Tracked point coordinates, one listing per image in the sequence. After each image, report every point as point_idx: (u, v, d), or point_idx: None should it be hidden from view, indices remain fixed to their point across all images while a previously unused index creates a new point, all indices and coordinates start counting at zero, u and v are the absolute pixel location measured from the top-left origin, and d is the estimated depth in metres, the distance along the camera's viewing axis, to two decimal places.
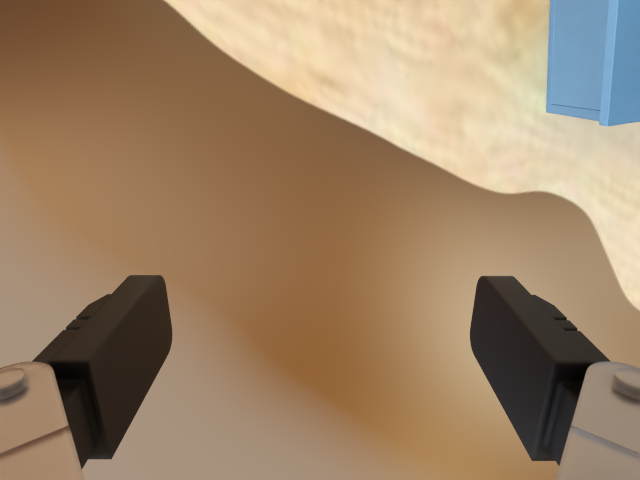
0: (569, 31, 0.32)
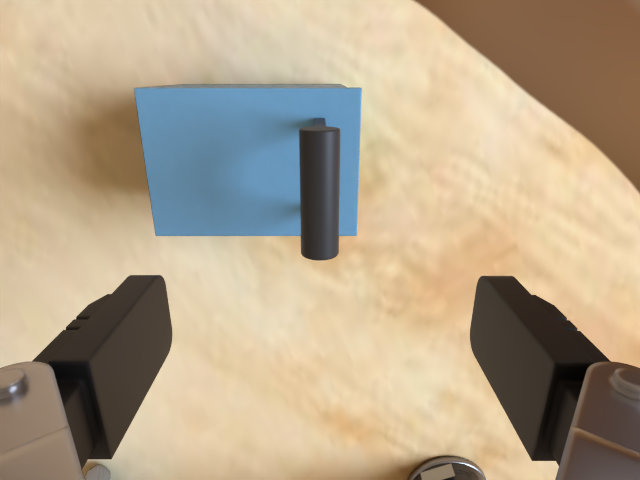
0: None
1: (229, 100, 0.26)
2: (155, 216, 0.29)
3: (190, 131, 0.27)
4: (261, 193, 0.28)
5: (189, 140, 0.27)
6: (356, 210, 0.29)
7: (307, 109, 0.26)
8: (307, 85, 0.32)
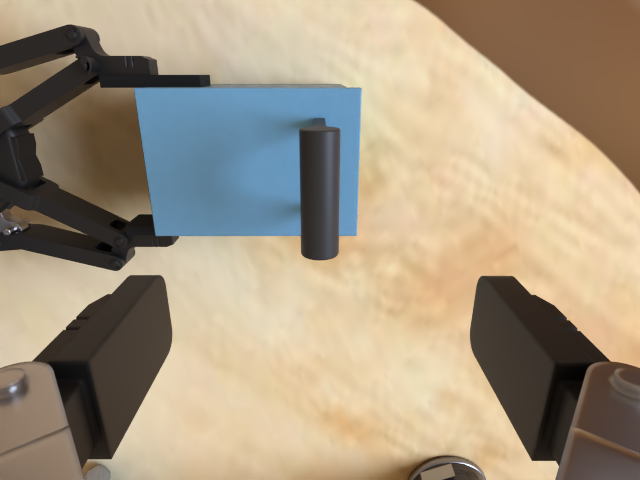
0: None
1: (229, 100, 0.26)
2: (155, 216, 0.29)
3: (190, 131, 0.27)
4: (261, 193, 0.28)
5: (188, 140, 0.27)
6: (356, 210, 0.29)
7: (307, 109, 0.26)
8: (307, 85, 0.32)
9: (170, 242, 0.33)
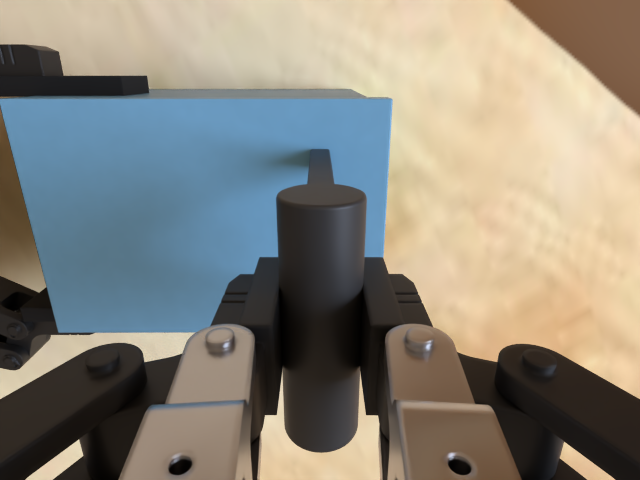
0: None
1: (165, 119, 0.15)
2: (55, 304, 0.18)
3: (101, 170, 0.16)
4: (225, 269, 0.17)
5: (100, 185, 0.16)
6: None
7: (299, 135, 0.15)
8: None
9: None
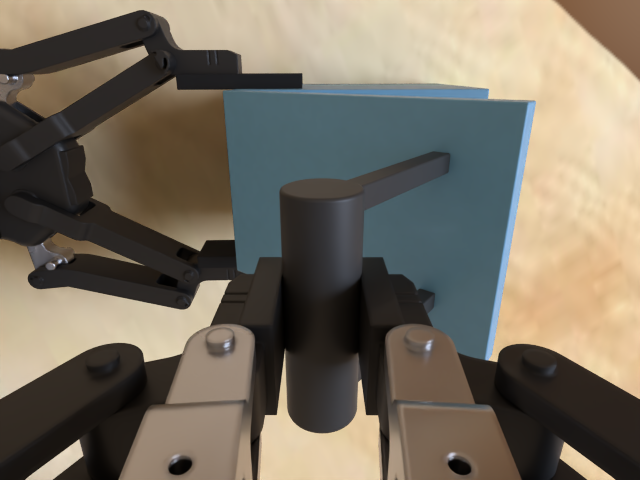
0: None
1: (316, 112, 0.18)
2: (237, 248, 0.24)
3: (272, 150, 0.20)
4: None
5: (270, 162, 0.20)
6: (489, 324, 0.16)
7: (422, 135, 0.15)
8: (413, 85, 0.27)
9: None
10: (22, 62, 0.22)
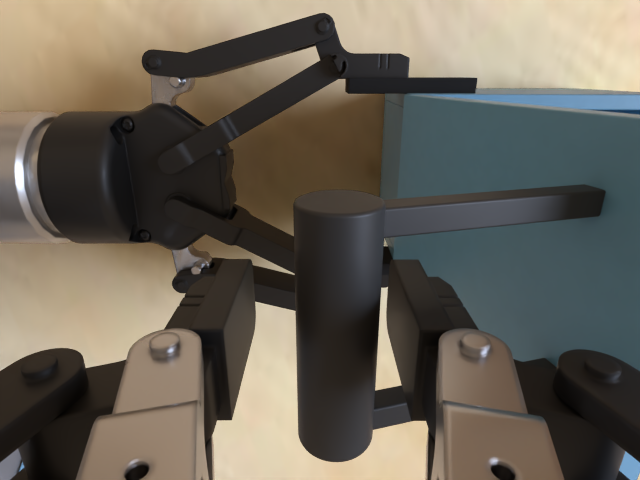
0: None
1: (473, 122, 0.15)
2: (394, 254, 0.23)
3: (432, 160, 0.18)
4: (478, 289, 0.16)
5: (429, 172, 0.19)
6: None
7: (576, 161, 0.11)
8: (566, 90, 0.26)
9: None
10: (196, 66, 0.22)
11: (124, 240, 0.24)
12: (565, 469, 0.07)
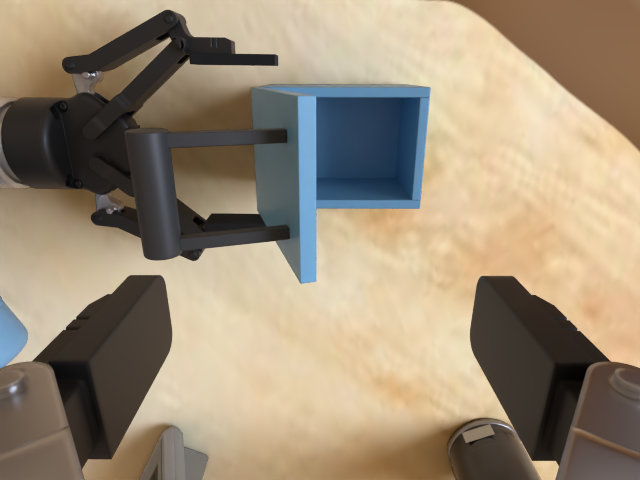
0: None
1: (265, 101, 0.27)
2: None
3: (259, 127, 0.30)
4: (274, 199, 0.28)
5: None
6: (299, 252, 0.22)
7: (282, 117, 0.23)
8: (385, 85, 0.37)
9: None
10: (97, 61, 0.33)
11: (62, 185, 0.35)
12: None
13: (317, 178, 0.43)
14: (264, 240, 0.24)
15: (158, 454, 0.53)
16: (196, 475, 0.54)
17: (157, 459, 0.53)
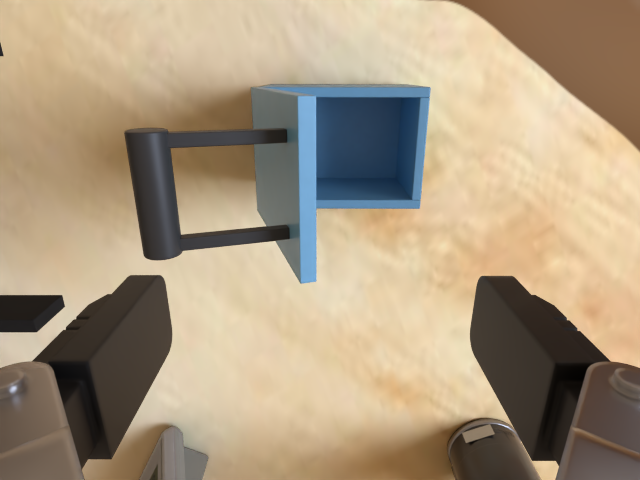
0: None
1: (265, 101, 0.27)
2: None
3: (259, 127, 0.30)
4: (274, 199, 0.28)
5: None
6: (299, 252, 0.22)
7: (282, 117, 0.23)
8: (385, 85, 0.37)
9: None
10: None
11: None
12: None
13: (317, 178, 0.43)
14: (264, 240, 0.24)
15: (158, 454, 0.53)
16: (196, 475, 0.54)
17: (157, 459, 0.53)
